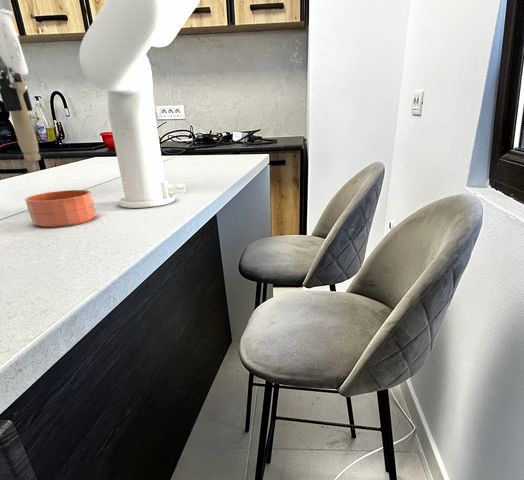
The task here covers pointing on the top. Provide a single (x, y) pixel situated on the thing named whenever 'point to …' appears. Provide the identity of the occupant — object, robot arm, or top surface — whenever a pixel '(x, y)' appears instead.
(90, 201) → the bowl
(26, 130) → the handle
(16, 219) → the top surface
